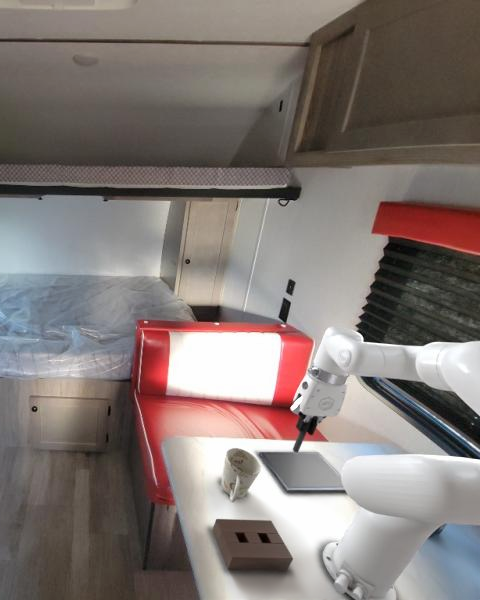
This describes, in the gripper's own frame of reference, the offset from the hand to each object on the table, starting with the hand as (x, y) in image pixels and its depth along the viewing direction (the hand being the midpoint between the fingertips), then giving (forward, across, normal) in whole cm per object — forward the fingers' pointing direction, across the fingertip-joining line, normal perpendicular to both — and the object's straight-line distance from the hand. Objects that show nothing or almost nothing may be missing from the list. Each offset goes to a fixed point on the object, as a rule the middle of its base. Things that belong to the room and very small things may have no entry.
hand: (304, 431), depth 91 cm
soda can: (+16, +28, -14) cm, 35 cm away
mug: (+16, -20, -7) cm, 26 cm away
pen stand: (+16, -22, -21) cm, 35 cm away
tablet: (+16, +6, +1) cm, 17 cm away
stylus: (+8, 0, 0) cm, 8 cm away
